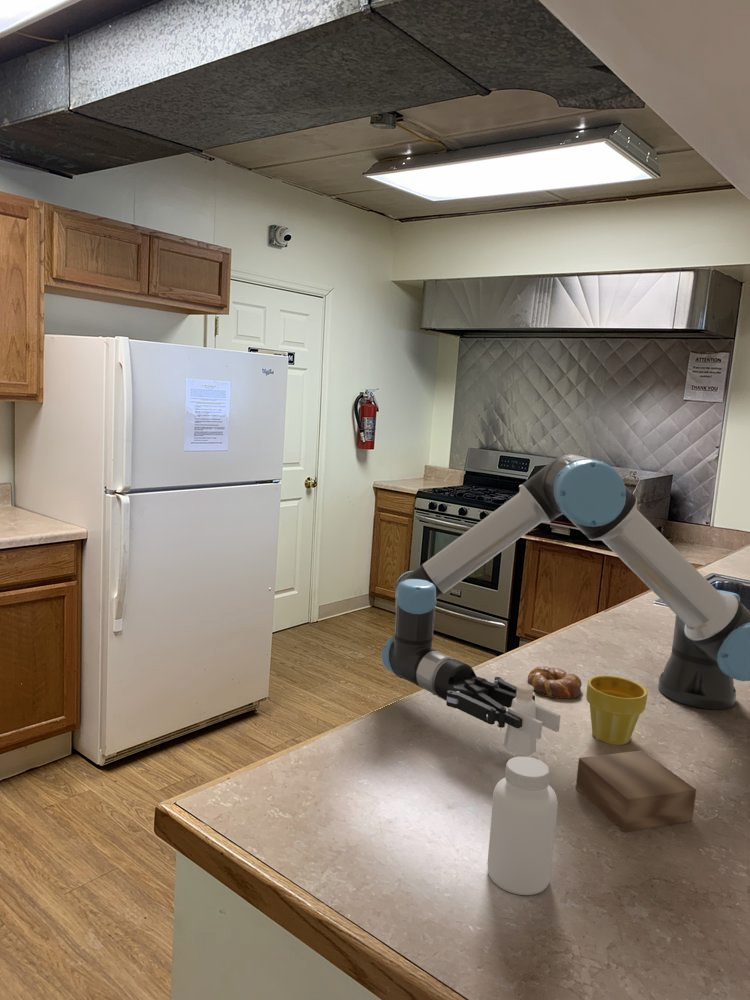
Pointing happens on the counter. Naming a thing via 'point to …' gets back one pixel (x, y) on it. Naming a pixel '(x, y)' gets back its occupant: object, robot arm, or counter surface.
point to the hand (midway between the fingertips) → (549, 727)
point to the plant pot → (615, 707)
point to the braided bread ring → (554, 682)
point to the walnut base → (635, 790)
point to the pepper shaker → (514, 737)
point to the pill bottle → (522, 828)
